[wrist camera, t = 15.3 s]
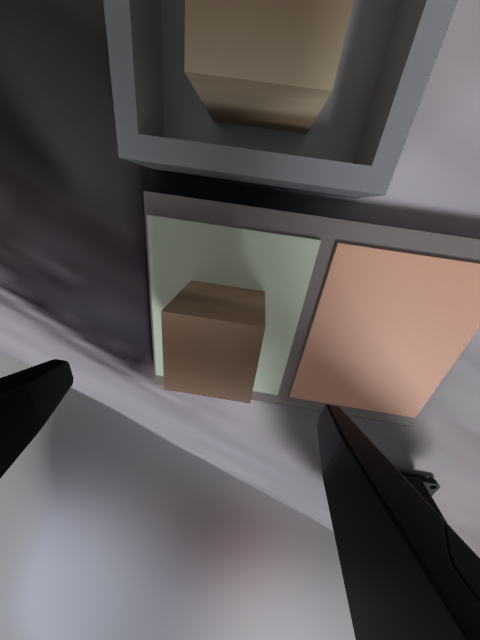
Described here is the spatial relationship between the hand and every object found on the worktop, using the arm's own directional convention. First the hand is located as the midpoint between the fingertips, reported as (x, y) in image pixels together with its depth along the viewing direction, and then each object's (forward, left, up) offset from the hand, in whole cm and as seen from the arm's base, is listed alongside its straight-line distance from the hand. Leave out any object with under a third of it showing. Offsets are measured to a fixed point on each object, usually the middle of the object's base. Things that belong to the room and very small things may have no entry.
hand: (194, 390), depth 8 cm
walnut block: (0, 0, -6) cm, 6 cm away
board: (0, -5, -7) cm, 9 cm away
